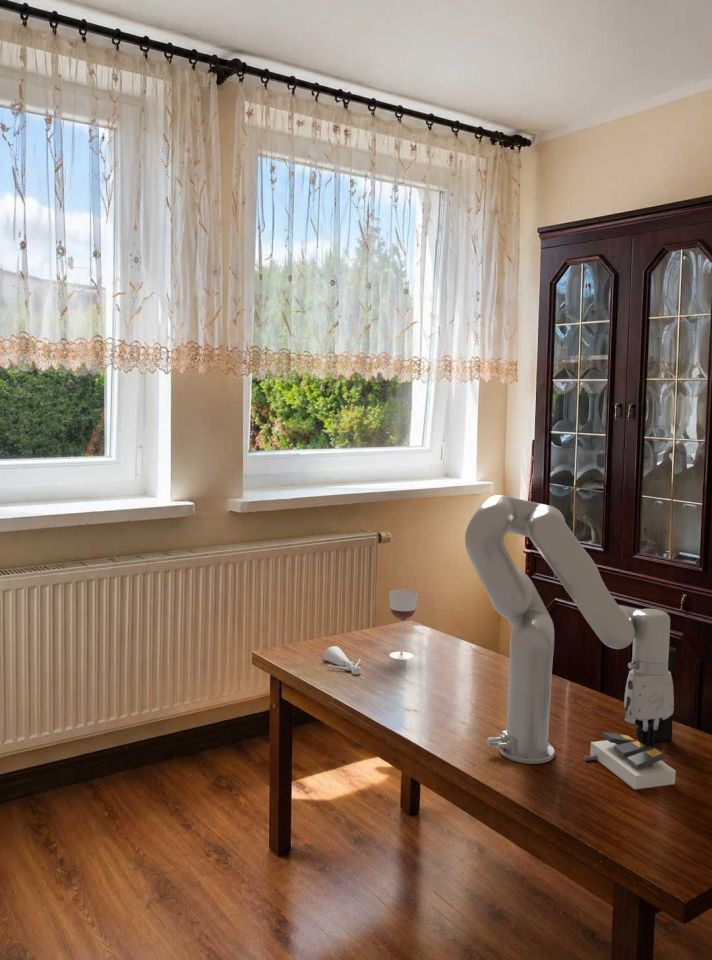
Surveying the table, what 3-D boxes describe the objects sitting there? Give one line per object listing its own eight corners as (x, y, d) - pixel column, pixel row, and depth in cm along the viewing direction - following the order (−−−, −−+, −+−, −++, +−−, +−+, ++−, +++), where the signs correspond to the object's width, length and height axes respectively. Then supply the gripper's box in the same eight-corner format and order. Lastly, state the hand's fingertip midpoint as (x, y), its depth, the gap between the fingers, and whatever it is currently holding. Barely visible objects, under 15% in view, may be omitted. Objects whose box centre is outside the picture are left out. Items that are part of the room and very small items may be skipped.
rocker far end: (638, 772, 179) (637, 764, 178) (628, 764, 182) (627, 756, 182) (666, 762, 180) (664, 753, 180) (655, 754, 184) (654, 746, 183)
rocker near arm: (609, 745, 188) (611, 737, 188) (600, 739, 191) (602, 731, 191) (635, 749, 190) (637, 741, 190) (625, 742, 193) (627, 734, 193)
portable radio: (645, 744, 199) (652, 643, 196) (630, 734, 205) (637, 635, 202) (673, 741, 201) (681, 641, 198) (658, 731, 207) (665, 633, 204)
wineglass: (385, 651, 262) (386, 589, 260) (411, 650, 264) (414, 589, 261) (390, 660, 254) (392, 596, 252) (418, 659, 256) (420, 595, 254)
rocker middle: (623, 760, 183) (623, 752, 183) (614, 753, 187) (613, 745, 186) (651, 753, 185) (650, 745, 185) (641, 746, 189) (640, 738, 188)
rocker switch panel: (622, 791, 176) (623, 777, 175) (578, 755, 192) (579, 743, 192) (674, 784, 180) (675, 770, 179) (627, 750, 196) (628, 737, 195)
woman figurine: (344, 640, 258) (376, 661, 243) (344, 654, 259) (375, 676, 244) (311, 646, 252) (342, 668, 237) (311, 660, 253) (341, 683, 238)
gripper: (630, 674, 178) (627, 756, 181) (689, 668, 183) (685, 748, 185) (610, 663, 186) (606, 742, 188) (667, 657, 190) (663, 734, 192)
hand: (646, 745), depth 186 cm, fingers closed
